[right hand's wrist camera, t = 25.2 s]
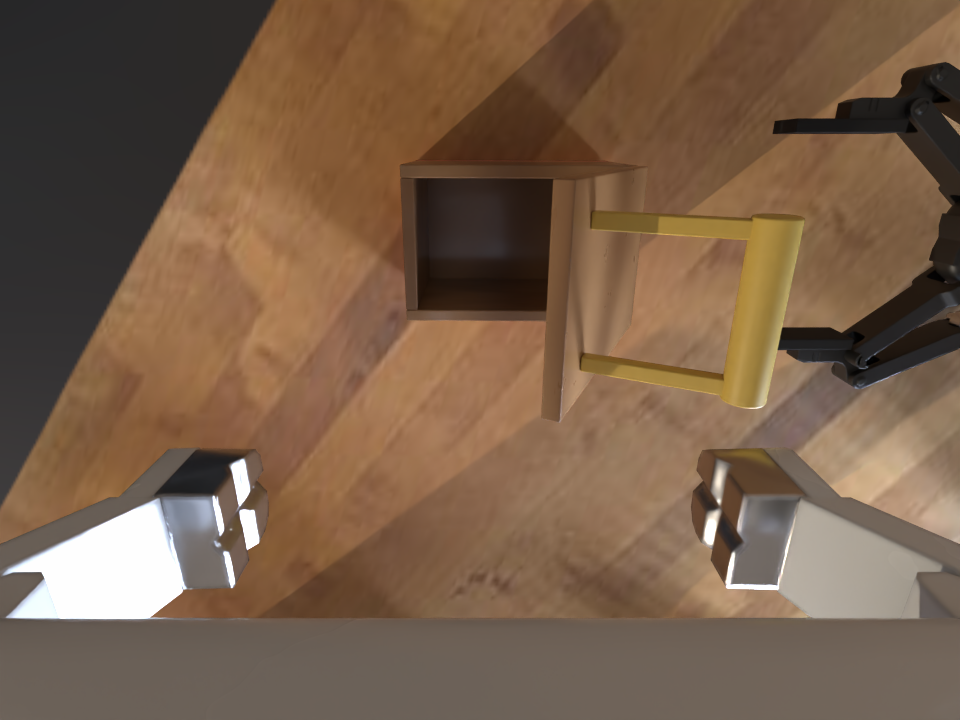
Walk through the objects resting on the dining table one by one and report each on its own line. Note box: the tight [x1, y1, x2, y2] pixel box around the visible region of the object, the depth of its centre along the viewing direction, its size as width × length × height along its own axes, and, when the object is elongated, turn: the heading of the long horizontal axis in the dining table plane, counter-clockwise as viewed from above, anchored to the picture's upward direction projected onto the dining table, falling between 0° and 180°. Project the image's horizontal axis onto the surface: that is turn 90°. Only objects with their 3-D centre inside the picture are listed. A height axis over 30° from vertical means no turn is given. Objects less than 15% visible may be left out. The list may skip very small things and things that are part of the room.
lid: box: [541, 166, 805, 422], centre depth 26 cm, size 15×10×8 cm
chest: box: [400, 160, 636, 321], centre depth 38 cm, size 14×10×10 cm
